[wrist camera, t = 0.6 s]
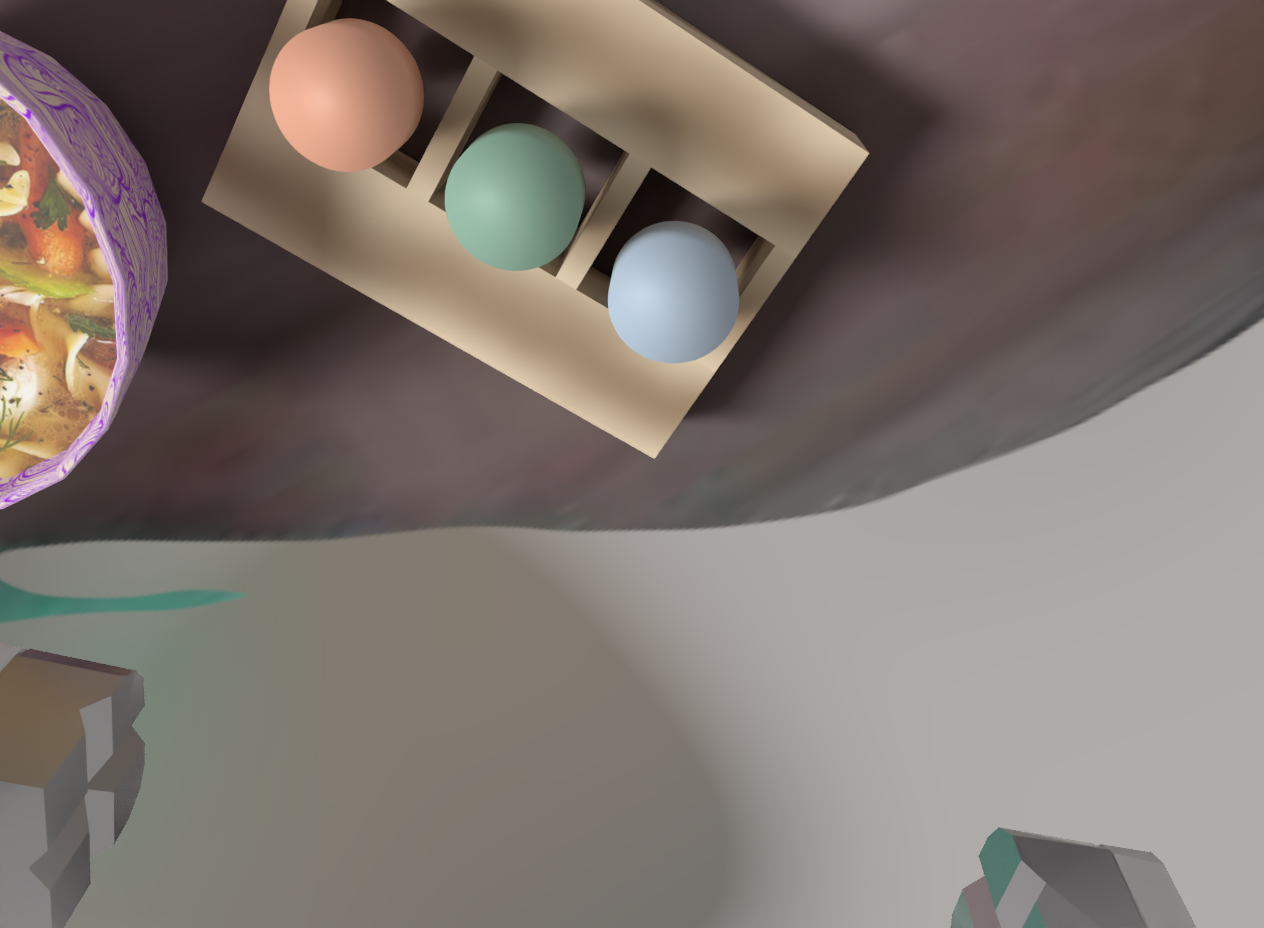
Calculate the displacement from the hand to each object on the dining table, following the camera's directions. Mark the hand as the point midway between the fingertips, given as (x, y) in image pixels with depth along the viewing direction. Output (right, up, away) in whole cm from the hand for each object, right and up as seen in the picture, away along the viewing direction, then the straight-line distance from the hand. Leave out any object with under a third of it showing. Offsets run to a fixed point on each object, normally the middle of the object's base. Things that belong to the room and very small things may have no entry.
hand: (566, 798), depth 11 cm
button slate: (+2, +12, +37) cm, 39 cm away
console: (-3, +16, +37) cm, 41 cm away
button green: (-4, +15, +35) cm, 39 cm away
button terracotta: (-9, +19, +34) cm, 40 cm away
